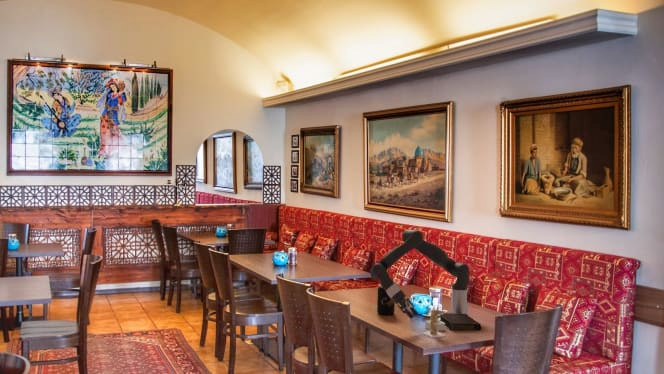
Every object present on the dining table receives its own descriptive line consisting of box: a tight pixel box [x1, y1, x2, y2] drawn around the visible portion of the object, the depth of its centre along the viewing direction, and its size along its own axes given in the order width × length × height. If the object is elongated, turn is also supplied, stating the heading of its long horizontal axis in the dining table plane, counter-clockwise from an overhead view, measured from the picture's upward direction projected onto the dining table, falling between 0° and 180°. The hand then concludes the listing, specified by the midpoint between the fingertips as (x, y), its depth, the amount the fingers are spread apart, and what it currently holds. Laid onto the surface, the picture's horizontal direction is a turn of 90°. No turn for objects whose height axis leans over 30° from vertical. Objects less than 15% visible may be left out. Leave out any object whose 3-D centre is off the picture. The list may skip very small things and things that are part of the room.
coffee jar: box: [376, 283, 396, 317], centre depth 427 cm, size 11×11×18 cm
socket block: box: [424, 319, 446, 332], centre depth 392 cm, size 8×8×4 cm
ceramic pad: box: [422, 331, 446, 339], centre depth 378 cm, size 9×9×1 cm
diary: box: [438, 312, 482, 332], centre depth 402 cm, size 19×25×5 cm
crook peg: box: [429, 308, 444, 335], centre depth 377 cm, size 7×4×13 cm, turn 66°
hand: (414, 316), depth 382 cm, fingers open, 8 cm apart
